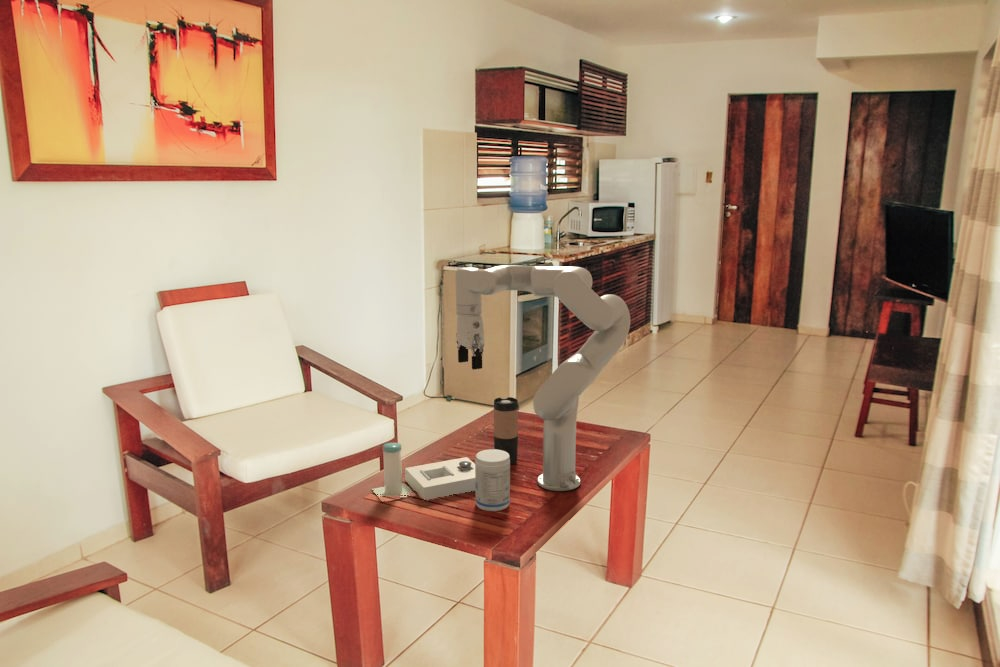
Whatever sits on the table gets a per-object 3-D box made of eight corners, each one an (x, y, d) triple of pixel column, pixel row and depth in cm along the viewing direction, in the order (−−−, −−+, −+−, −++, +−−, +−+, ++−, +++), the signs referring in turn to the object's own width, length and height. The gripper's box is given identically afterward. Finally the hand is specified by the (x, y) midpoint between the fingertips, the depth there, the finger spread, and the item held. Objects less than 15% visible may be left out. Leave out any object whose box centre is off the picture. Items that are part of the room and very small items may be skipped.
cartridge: (405, 489, 220) (403, 443, 217) (398, 496, 215) (397, 449, 212) (388, 487, 221) (386, 441, 218) (381, 494, 216) (379, 448, 213)
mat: (415, 496, 215) (415, 495, 215) (381, 503, 211) (381, 502, 211) (404, 483, 224) (404, 482, 224) (371, 489, 220) (371, 488, 220)
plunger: (473, 479, 225) (473, 464, 224) (462, 481, 224) (461, 466, 223) (468, 475, 228) (468, 460, 228) (457, 477, 227) (457, 462, 226)
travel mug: (508, 467, 237) (508, 405, 233) (489, 461, 241) (488, 401, 237) (522, 459, 243) (522, 399, 238) (503, 454, 247) (503, 395, 243)
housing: (488, 487, 221) (488, 474, 220) (424, 501, 212) (423, 486, 212) (466, 469, 235) (466, 456, 234) (405, 480, 226) (404, 467, 226)
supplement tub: (474, 498, 214) (473, 449, 211) (508, 497, 215) (507, 447, 212) (476, 513, 204) (476, 462, 201) (511, 512, 205) (511, 460, 202)
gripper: (493, 312, 219) (494, 370, 223) (468, 304, 234) (469, 358, 238) (469, 315, 216) (470, 373, 219) (445, 306, 231) (447, 360, 234)
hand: (470, 365), depth 229 cm, fingers open, 9 cm apart
